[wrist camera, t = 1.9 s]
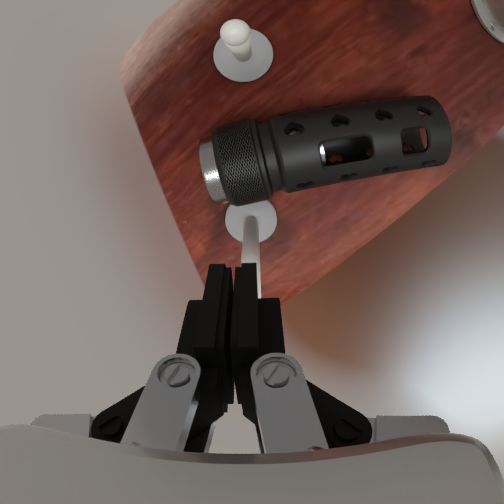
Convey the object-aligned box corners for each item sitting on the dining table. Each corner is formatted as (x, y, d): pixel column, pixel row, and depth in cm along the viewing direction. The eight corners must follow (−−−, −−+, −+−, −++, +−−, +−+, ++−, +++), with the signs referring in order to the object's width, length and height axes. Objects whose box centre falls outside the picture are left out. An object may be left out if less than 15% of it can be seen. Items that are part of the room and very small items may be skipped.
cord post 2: (275, 191, 42) (291, 276, 25) (276, 237, 46) (288, 336, 29) (224, 193, 42) (204, 278, 25) (228, 238, 46) (214, 338, 29)
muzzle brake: (416, 154, 39) (454, 178, 30) (224, 191, 42) (216, 225, 33) (409, 90, 34) (450, 97, 25) (204, 125, 37) (189, 140, 29)
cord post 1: (271, 29, 31) (287, -17, 14) (273, 81, 34) (292, 79, 18) (213, 32, 31) (177, -10, 14) (216, 83, 35) (182, 85, 18)
